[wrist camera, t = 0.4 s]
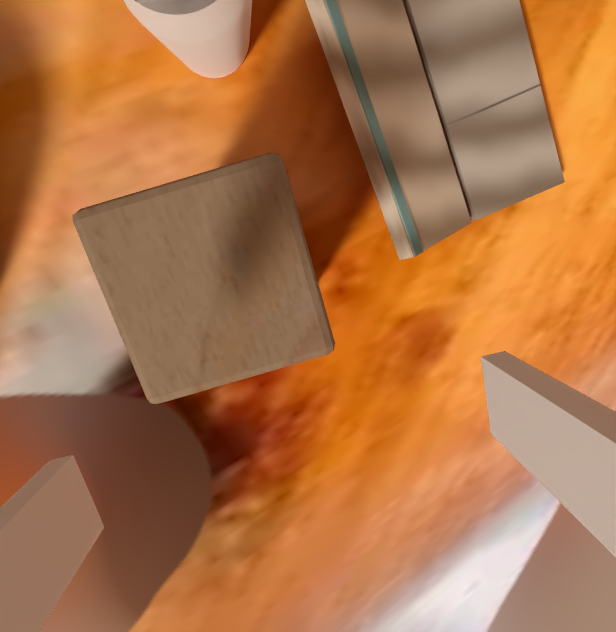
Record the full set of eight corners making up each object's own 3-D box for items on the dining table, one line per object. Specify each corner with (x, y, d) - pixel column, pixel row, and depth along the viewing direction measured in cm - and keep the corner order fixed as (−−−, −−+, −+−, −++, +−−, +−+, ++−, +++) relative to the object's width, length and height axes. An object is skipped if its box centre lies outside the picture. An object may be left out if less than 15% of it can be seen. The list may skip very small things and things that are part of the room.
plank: (255, -137, 26) (266, -165, 25) (345, -121, 30) (359, -143, 29) (399, 259, 32) (414, 256, 31) (456, 226, 37) (472, 222, 35)
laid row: (358, -123, 31) (362, -143, 29) (462, -172, 30) (471, -194, 29) (466, 221, 37) (474, 220, 36) (552, 184, 37) (565, 182, 35)
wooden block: (285, 195, 36) (280, 147, 16) (313, 293, 38) (338, 354, 18) (186, 224, 36) (63, 211, 16) (219, 320, 38) (147, 410, 19)
